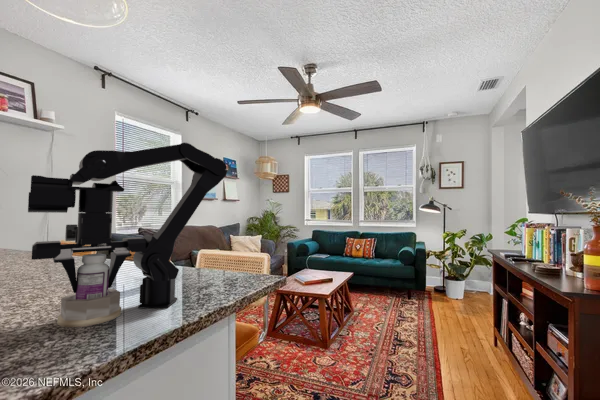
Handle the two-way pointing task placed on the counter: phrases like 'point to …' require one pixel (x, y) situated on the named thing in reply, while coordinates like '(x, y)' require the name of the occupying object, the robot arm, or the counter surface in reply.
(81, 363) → the counter surface
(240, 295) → the counter surface
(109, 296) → the socket base
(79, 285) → the pill bottle
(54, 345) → the counter surface
